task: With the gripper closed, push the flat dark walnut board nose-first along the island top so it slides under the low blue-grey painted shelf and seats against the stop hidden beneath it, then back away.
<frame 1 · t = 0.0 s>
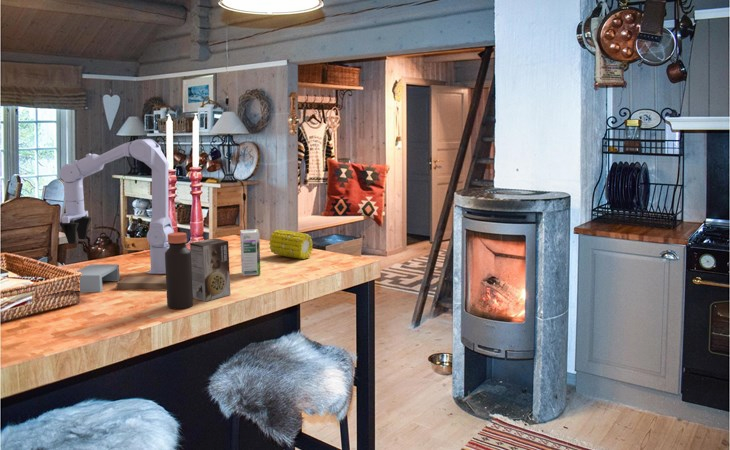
hand: (77, 241, 216), 10 cm above the counter, tool pointing down, fingers open, 7 cm apart
syrup box: (250, 274, 215), on the counter
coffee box: (211, 297, 187), on the counter
bottle: (180, 306, 177), on the counter
board: (148, 287, 198), on the counter
food: (291, 258, 240), on the counter
shelf: (99, 285, 198), on the counter
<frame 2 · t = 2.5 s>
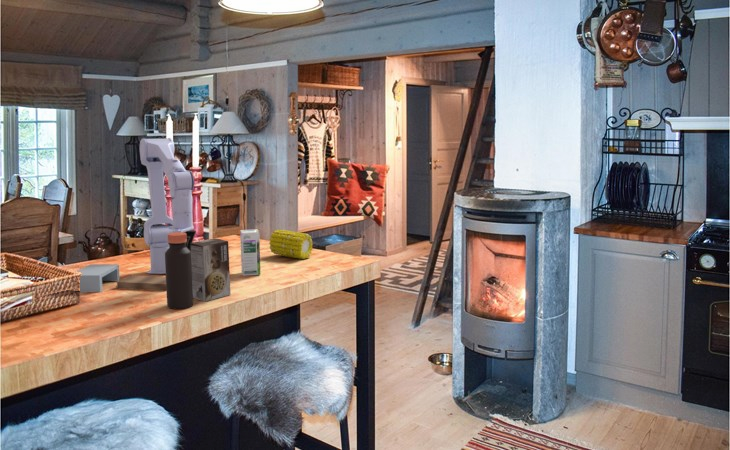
hand: (184, 256, 195), 9 cm above the counter, tool pointing down, fingers open, 6 cm apart
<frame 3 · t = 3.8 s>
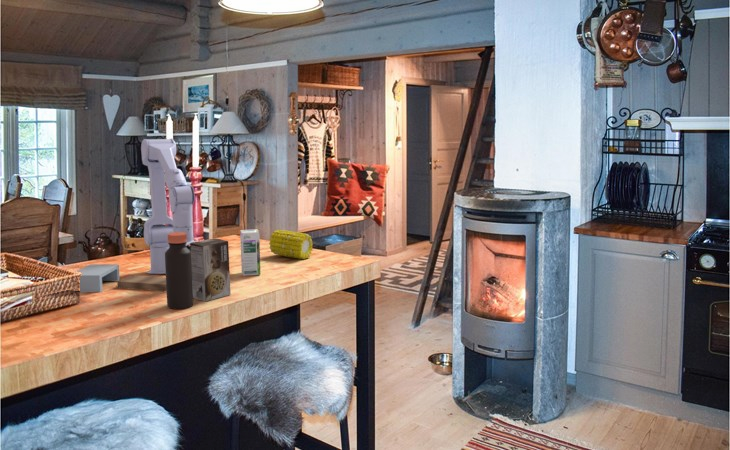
hand: (185, 270, 196), 5 cm above the counter, tool pointing down, fingers closed
nothing on the counter moved.
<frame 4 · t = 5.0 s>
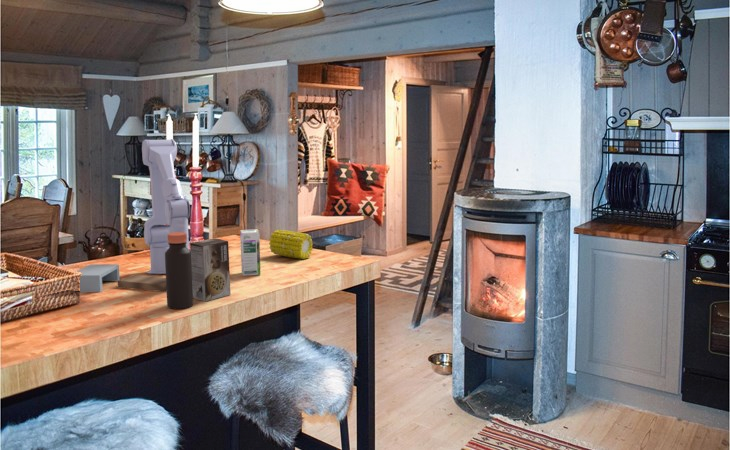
hand: (180, 283, 198), 1 cm above the counter, tool pointing down, fingers closed
board: (148, 287, 198), on the counter, touching gripper
everything else where it was.
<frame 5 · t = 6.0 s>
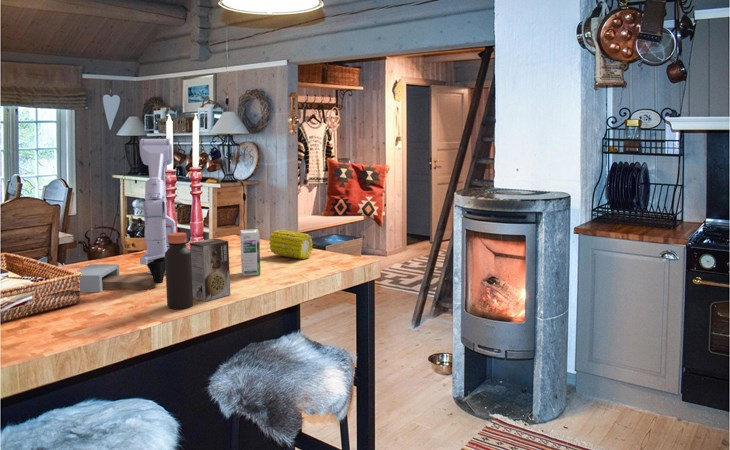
hand: (158, 282, 198), 1 cm above the counter, tool pointing down, fingers closed
board: (127, 287, 198), on the counter, touching gripper
everything else where it was.
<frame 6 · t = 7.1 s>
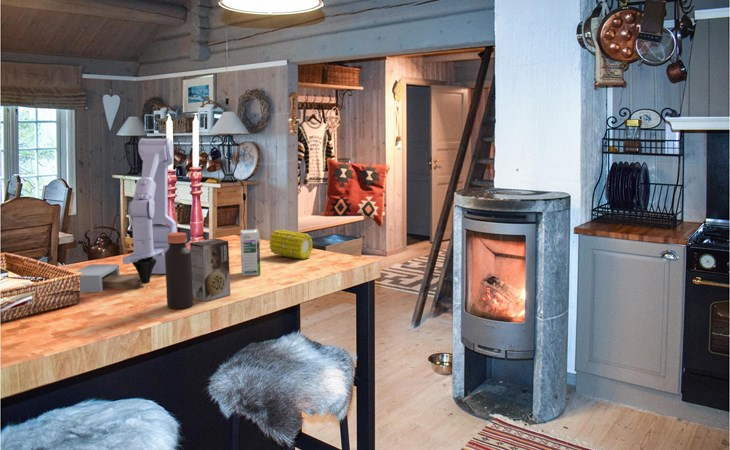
hand: (145, 282, 198), 1 cm above the counter, tool pointing down, fingers closed
board: (115, 286, 199), on the counter
everything else where it was.
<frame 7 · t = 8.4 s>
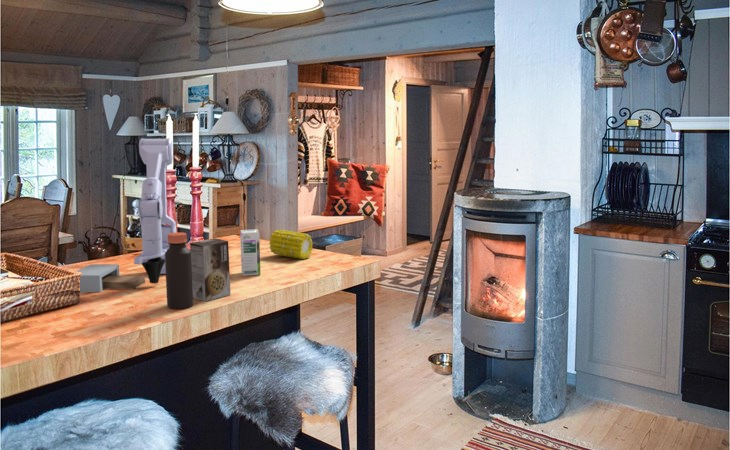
hand: (154, 282, 198), 1 cm above the counter, tool pointing down, fingers closed
nothing on the counter moved.
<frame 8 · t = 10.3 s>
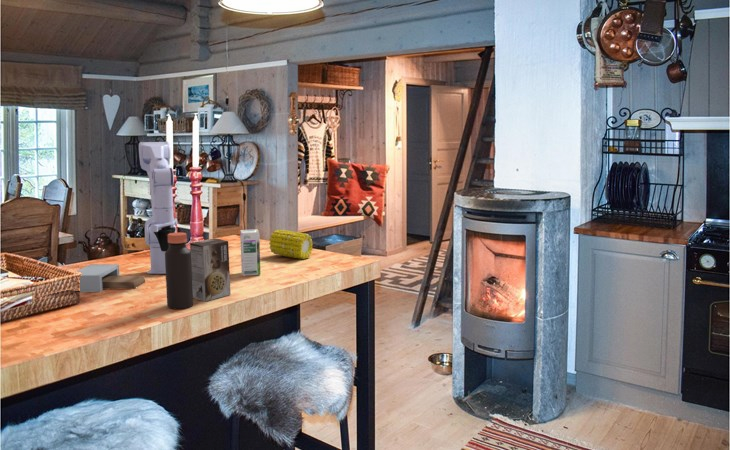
hand: (165, 251, 201), 10 cm above the counter, tool pointing down, fingers closed
nothing on the counter moved.
at the end: board 1.0 cm from the target spot on the shelf, point -0.5 cm above the shelf's base; board tilted 0° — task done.
